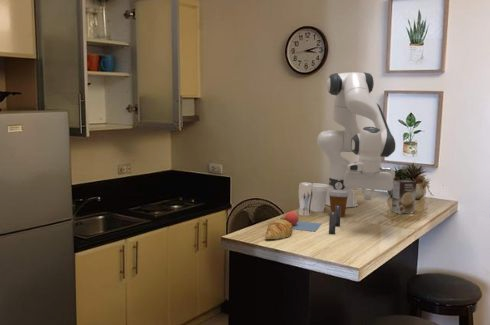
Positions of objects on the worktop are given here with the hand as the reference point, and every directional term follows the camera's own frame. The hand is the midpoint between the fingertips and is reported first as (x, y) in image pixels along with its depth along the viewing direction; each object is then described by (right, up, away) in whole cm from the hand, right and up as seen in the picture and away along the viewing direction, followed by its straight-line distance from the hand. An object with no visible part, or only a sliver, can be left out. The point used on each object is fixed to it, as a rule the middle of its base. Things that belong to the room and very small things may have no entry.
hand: (367, 199), depth 215 cm
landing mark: (-26, -13, +10) cm, 31 cm away
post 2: (-10, -13, +12) cm, 20 cm away
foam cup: (-15, -9, +40) cm, 44 cm away
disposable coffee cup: (-7, -10, +31) cm, 33 cm away
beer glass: (-22, -10, +32) cm, 41 cm away
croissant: (-37, -15, -4) cm, 40 cm away
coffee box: (+27, -10, +40) cm, 50 cm away
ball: (-31, -9, +11) cm, 34 cm away
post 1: (-15, -14, 0) cm, 21 cm away
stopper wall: (-34, -12, +13) cm, 39 cm away
